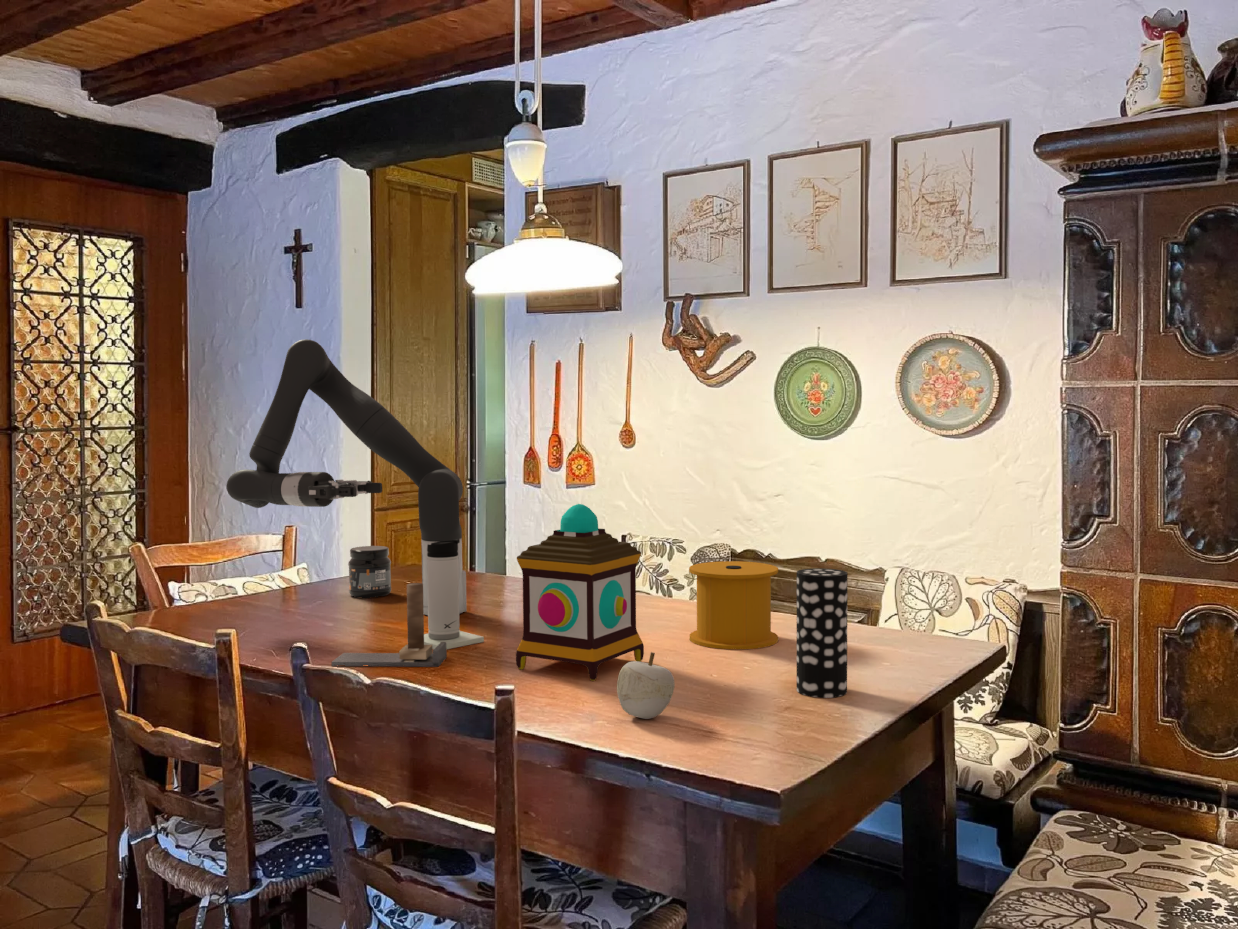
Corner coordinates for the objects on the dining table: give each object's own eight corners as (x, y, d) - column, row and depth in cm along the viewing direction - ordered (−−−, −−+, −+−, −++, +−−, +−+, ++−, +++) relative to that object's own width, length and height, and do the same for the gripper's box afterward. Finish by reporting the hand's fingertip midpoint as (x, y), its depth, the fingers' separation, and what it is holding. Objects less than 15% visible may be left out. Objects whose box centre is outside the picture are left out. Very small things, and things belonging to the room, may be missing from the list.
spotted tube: (791, 685, 179) (791, 568, 178) (838, 683, 180) (839, 567, 179) (803, 698, 171) (803, 576, 170) (853, 697, 172) (854, 575, 171)
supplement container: (358, 591, 274) (357, 545, 273) (397, 591, 272) (396, 545, 271) (342, 598, 263) (341, 550, 262) (382, 599, 262) (381, 551, 261)
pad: (451, 633, 222) (451, 628, 222) (483, 641, 214) (483, 636, 214) (407, 642, 214) (407, 637, 214) (439, 650, 206) (439, 645, 206)
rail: (331, 666, 195) (331, 650, 195) (343, 656, 202) (343, 641, 202) (438, 666, 194) (438, 650, 193) (446, 657, 201) (446, 642, 200)
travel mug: (454, 641, 210) (453, 541, 209) (423, 639, 211) (421, 541, 210) (465, 634, 216) (464, 537, 215) (435, 633, 218) (433, 537, 216)
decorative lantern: (595, 685, 180) (594, 511, 179) (504, 670, 191) (502, 506, 189) (654, 660, 197) (653, 501, 195) (567, 648, 208) (565, 497, 206)
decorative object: (608, 722, 159) (608, 657, 158) (628, 707, 167) (628, 645, 167) (664, 728, 156) (663, 662, 155) (681, 712, 164) (681, 649, 163)
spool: (678, 646, 209) (678, 571, 208) (702, 627, 226) (702, 558, 225) (767, 652, 203) (767, 575, 202) (785, 633, 220) (786, 562, 219)
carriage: (399, 659, 195) (398, 586, 194) (406, 652, 200) (405, 582, 199) (426, 659, 195) (424, 586, 194) (432, 653, 200) (431, 582, 199)
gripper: (284, 474, 221) (345, 474, 214) (329, 469, 234) (388, 469, 227) (286, 510, 222) (347, 511, 215) (331, 503, 235) (390, 503, 228)
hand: (368, 489), depth 221 cm, fingers open, 8 cm apart
